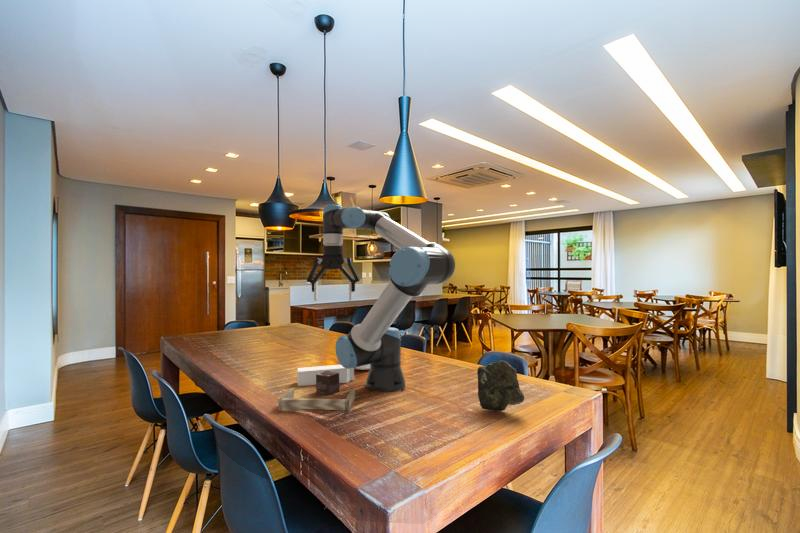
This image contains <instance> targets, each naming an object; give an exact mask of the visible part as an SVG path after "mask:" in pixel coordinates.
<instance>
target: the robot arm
mask: <svg viewBox="0 0 800 533" xmlns="http://www.w3.org/2000/svg"><path fill="white" fill-rule="evenodd" d="M322 208H323V210H322V233H323V234H322V236H323V237H322V244H323V247H322V248H323V249H322V251H323V257H322V258H319V257H316V258H314V264H313V266H312V267H311V270H310V273H309V275H308V276H307V279H306V282H307V283H310V285H311V292H312V293H313V294H314V296H313V298H314V300H313V301H315V302H316V301H319V283H317V282H318V281H319V279H320V278H321V277H322V276H323V275H324V273H325V272H326V271H328V270H340V271H341V272H342V273H343V275H344V276H345V278H347V280H348V281H349V282H350V283H348V286H349V287H348V291H349V292H348V300H349V302H350V301H353V298H354V296H353V292H355V291H356V283H358V282H360V281H361V279H360V277H359V275H358V273H357V271H356V269H355V267H354V264H353V262H352V258H351V257H347V258H344V247H343V246H342V245H343V244H344V233H343V231H344V229H354V230H355V229H356V230H364V231H365V230H366V231H372V232H374V233H375V234H376V235H379V236H380V237H382V238H383V239H384V240H386V241H387V242H389V243H390V244H392V245H393V246H395V247H396V248H398V250H396V251H395V252H394V254H393V255H392V257H391V259H390V261H389V265H390V267H388V272H389V277H388V279H389V283H387V285H386V287H385V288H384V290H383V291H382V292H381V294H380V295H379V297H378V299H377V300H376V301H375V302H374V304H373V306H372V307H371V308H370V310H369V311H368V313H367V314H366V316H365V317H364V318H363V320H362V322H360V323H358V324H355V325H354V326H353V327H352V328H351V329H350V331H349V332H348V334H346V335H341V336H339V337H337V339H336V342H335V345H334V347H335V355H336V358H337V360H338V362H339V365H342V366H343V367H344V368H347V369H351V368H354V369H356V367H360V366H364V365H368V364H370V369H368V370H369V371H368V373H367V377H366V380H365V387H366V388H367V389H368V390H371V391H376V392H388V393H391V392H392V393H393V392H397V391H403V390H404V389H406V379H405V376H404V372H403V369H402V367H401V364H402V363H401V362H402V360H401V355H402V354H401V353H402V352H401V351H402V349H401V348H402V347H401V346H402V342H401V341H402V338H401V332H400V329H398V328H396V327H391V325H392V324H393V323H394V322H395V321H396V319H397V318H398V317H399V315H400V314H401V312H402V311H403V310H404V309H405V307H406V306H407V304H408V303H409V302H410V300H412V298H417V297H419V296H420V295H422V293H423V292H424V291H425V290H426V288H427V287H428V286H429V285H440V284H443V283H446V282H447V281H449V279H451V278H452V276H453V274H454V273H455V269H456V260H455V258H454V255H453V254H452V252H451V251H450V250H448V249H447V248H446V247H443V246H442V245H440V244H438V243H437V242H434V241H433V242H430V241H428V240H426V239H424V238H423V237H421V236H419V235H417V234H416V233H415V232H413V231H411V230H409V229H408V228H406V227H404V226H402V224H399V223H398V222H396V221H394V220H392V219H391V217H390V215H389V214H388V213H387V212H385V211H381V210H371V209H362V208H361V207H359V206H349V207H344V208H343V206H342V205H339V204H325V205H324V206H323V207H322ZM344 262H345V264H347V266H348V268H349V270H350V273H351V274H350V273H349V271H348V270H347V269H346V268H345V267H344V266H343V264H344ZM320 264H323V266H322V268H321V269H320V270H319V271H318V273H317V274H316V272H317V270H318V268H319V265H320ZM315 274H316V275H315ZM352 276H353V277H352Z"/></svg>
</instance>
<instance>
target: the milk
mask: <svg viewBox="0 0 800 533" xmlns="http://www.w3.org/2000/svg"><path fill="white" fill-rule="evenodd" d="M325 371H332V372H337V373H339V384H348V383H350V381H355V368H351V369H347V368H344V367H343V366H342V365H341V364H333V365H332V364H329V365H320V366H319V365H317V366H306V367H297V387H301V386H316V374H319V373H322V372H325Z"/></svg>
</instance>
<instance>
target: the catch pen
mask: <svg viewBox="0 0 800 533" xmlns="http://www.w3.org/2000/svg"><path fill="white" fill-rule="evenodd" d="M355 400H356V388H352V389H351V390H350V391H349V393H348V394H347V396H346V398H295V387H290V388H289V389H288V390H287V391H286V392H285V393H284V394H282V396H281V397H279V398H278V404H277V405H278V411H279V412H298V413H299V412H301V413H303V412H305V413H311V411H310V410H324V411H325V410H330V411H341V414H349V413H350V412H351V410H352V408H351V407H352V405H353V403H354V401H355Z"/></svg>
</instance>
